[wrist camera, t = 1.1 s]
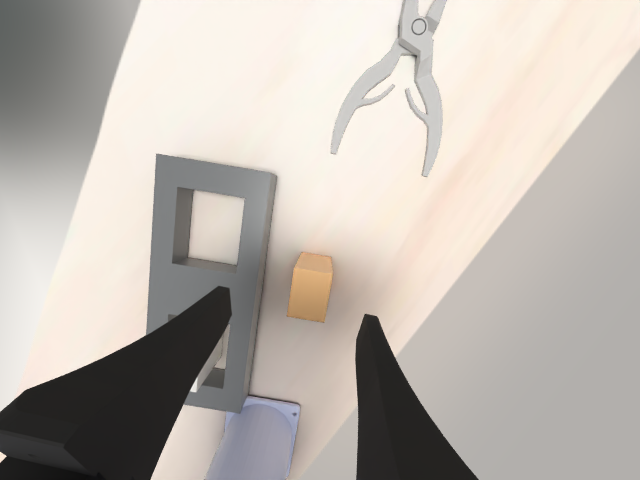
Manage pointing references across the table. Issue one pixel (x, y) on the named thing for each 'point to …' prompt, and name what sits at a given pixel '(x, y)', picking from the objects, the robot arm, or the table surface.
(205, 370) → the white plug
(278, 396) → the table surface
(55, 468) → the robot arm
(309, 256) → the orange plug
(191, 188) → the grey two-slot frame
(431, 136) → the pliers
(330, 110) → the table surface
